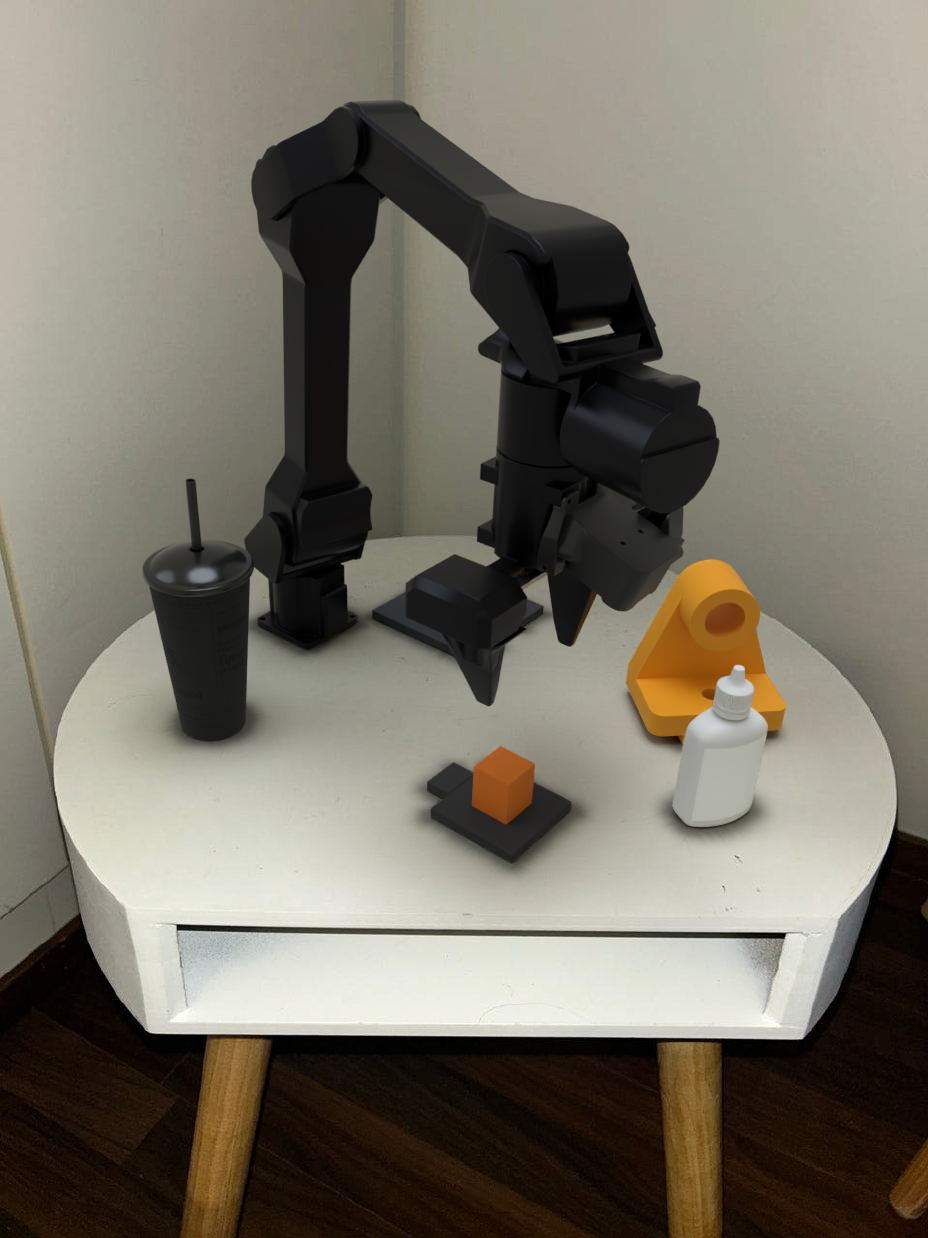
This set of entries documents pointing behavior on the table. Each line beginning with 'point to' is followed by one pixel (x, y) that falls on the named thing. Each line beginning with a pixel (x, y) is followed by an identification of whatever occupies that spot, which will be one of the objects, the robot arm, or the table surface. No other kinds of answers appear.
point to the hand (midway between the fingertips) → (527, 672)
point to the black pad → (487, 827)
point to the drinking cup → (203, 626)
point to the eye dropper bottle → (721, 756)
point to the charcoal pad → (396, 618)
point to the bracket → (700, 651)
